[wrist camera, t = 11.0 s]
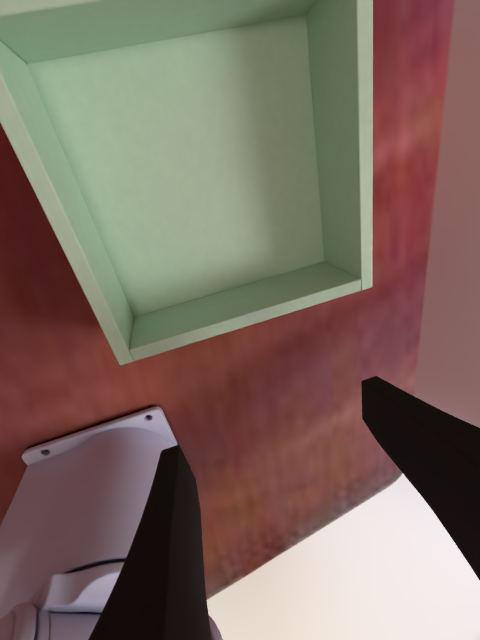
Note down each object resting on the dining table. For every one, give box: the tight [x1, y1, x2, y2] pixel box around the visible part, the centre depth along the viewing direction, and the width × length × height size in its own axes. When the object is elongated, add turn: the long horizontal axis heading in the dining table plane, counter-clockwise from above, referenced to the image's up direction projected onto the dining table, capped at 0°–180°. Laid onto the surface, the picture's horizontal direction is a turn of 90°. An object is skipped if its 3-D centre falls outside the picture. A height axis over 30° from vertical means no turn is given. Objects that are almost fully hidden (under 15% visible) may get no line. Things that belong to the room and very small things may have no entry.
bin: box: [0, 0, 373, 365], centre depth 14 cm, size 14×13×4 cm
